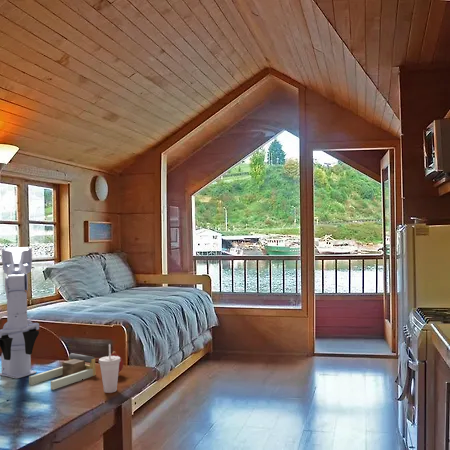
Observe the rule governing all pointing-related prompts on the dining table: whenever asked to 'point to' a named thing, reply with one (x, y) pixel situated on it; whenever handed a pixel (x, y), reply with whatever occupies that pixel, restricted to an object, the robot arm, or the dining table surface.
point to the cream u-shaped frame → (68, 379)
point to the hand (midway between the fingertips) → (18, 356)
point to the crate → (73, 366)
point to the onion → (119, 362)
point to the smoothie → (109, 371)
